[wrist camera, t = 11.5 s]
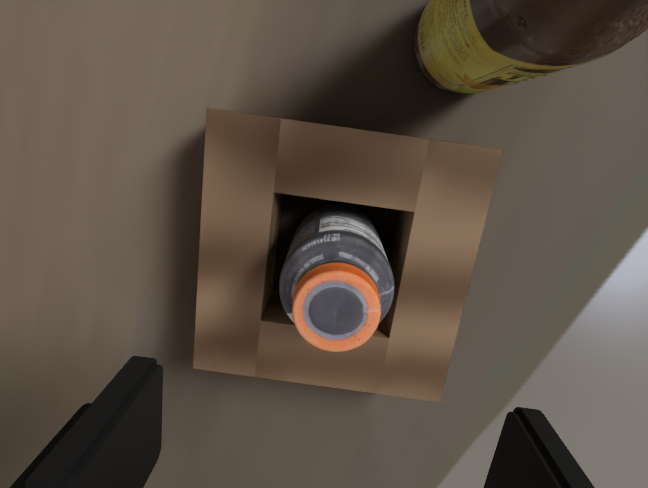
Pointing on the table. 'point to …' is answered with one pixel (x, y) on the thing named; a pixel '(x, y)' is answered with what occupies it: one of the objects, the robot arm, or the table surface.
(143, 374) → the robot arm
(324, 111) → the table surface
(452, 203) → the socket block
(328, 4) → the table surface
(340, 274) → the pill bottle
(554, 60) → the sauce bottle
